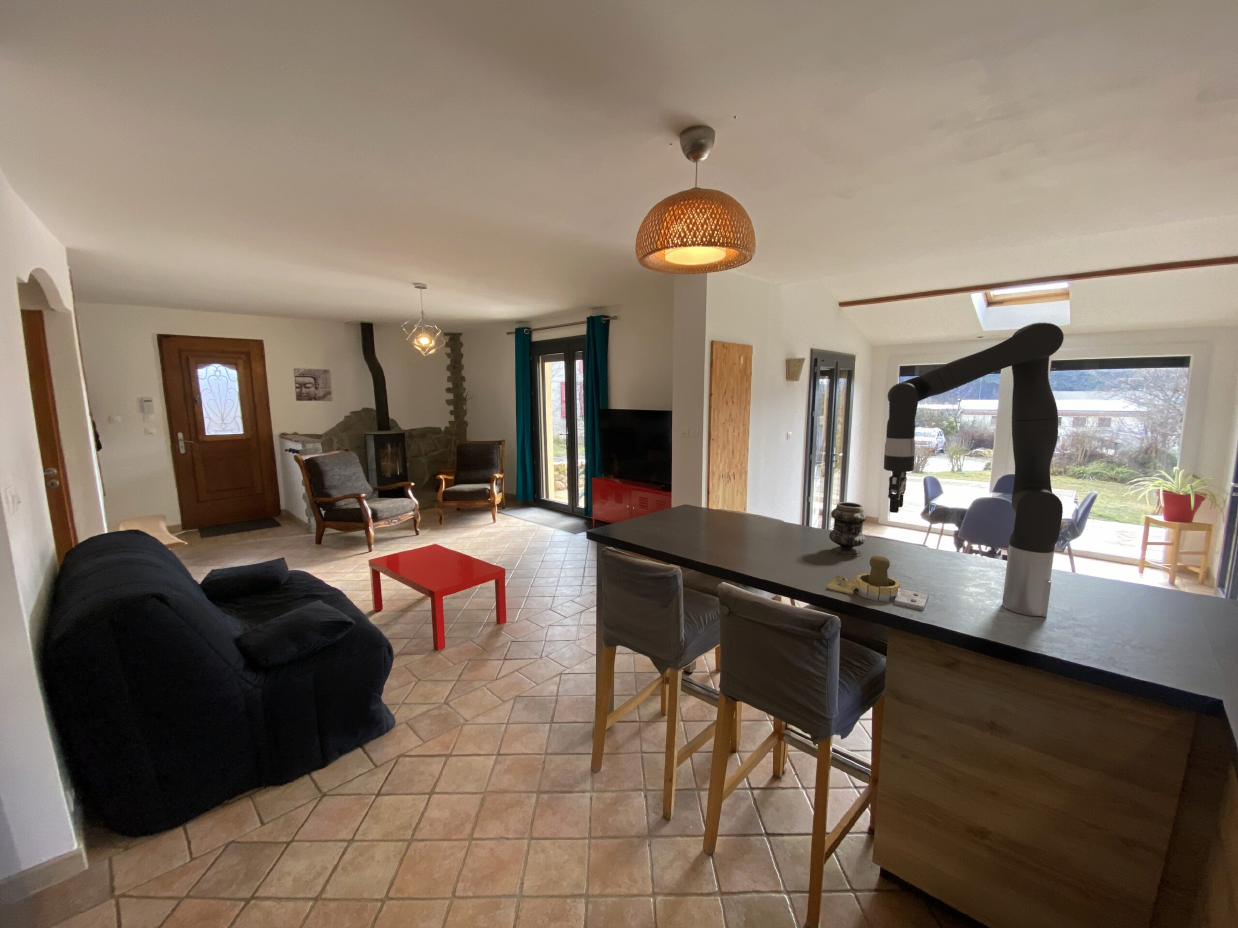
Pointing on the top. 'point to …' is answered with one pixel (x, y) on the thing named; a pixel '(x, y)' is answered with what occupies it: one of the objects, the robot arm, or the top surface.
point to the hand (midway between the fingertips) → (896, 509)
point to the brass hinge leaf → (863, 585)
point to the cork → (879, 571)
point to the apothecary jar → (848, 528)
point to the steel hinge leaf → (899, 598)
